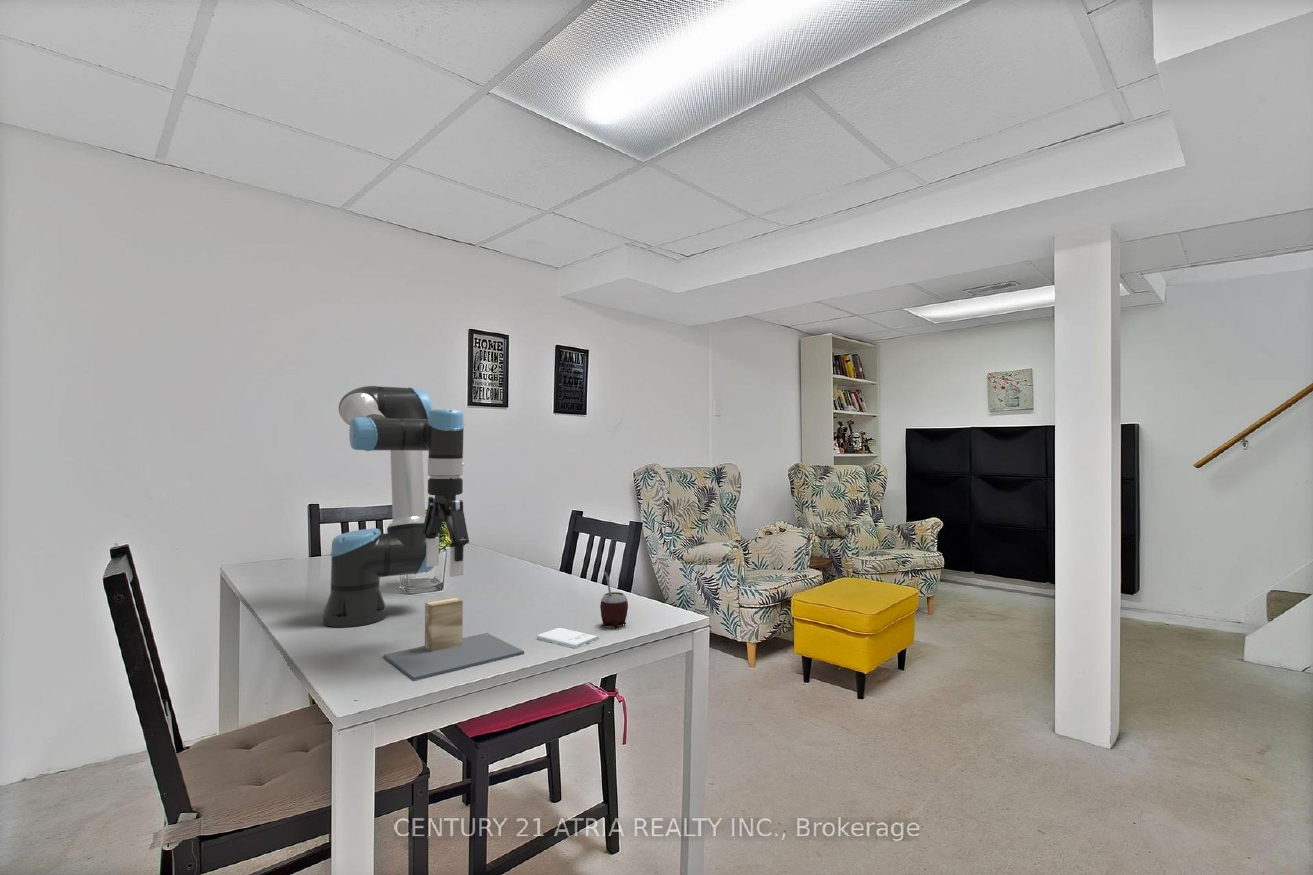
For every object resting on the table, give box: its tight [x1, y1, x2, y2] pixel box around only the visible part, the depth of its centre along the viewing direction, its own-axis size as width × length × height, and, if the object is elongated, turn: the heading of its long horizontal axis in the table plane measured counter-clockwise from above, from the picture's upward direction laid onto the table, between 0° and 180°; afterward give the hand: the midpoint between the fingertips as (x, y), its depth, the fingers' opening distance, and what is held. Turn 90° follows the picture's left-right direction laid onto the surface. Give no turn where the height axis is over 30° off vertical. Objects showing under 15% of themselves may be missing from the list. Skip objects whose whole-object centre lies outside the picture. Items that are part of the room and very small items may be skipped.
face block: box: [424, 597, 464, 652], centre depth 137 cm, size 4×7×10 cm, turn 132°
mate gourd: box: [599, 570, 629, 629], centre depth 156 cm, size 8×8×15 cm
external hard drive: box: [536, 627, 600, 649], centre depth 144 cm, size 2×8×12 cm
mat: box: [383, 632, 525, 681], centre depth 133 cm, size 18×24×1 cm
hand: (444, 570), depth 138 cm, fingers open, 13 cm apart
